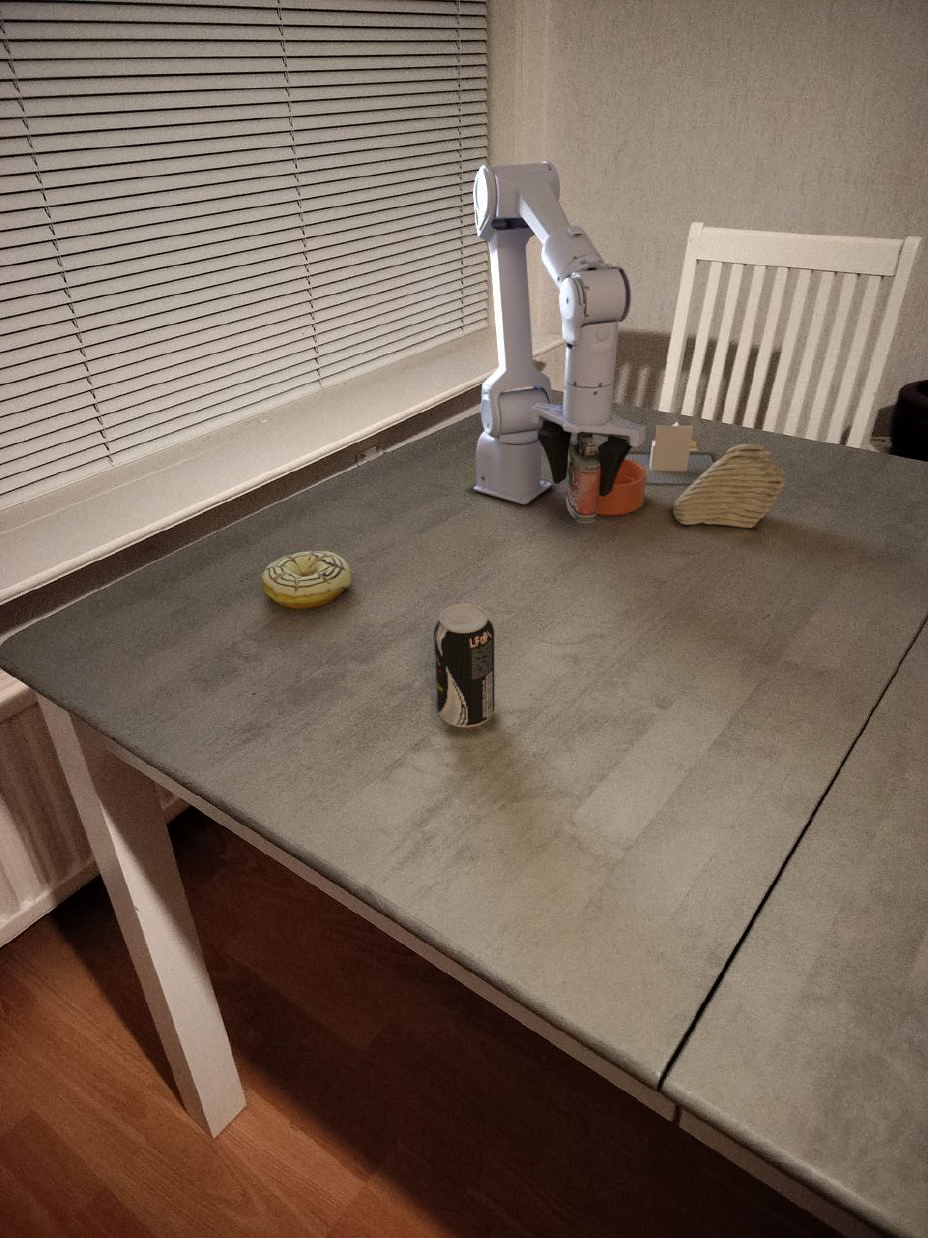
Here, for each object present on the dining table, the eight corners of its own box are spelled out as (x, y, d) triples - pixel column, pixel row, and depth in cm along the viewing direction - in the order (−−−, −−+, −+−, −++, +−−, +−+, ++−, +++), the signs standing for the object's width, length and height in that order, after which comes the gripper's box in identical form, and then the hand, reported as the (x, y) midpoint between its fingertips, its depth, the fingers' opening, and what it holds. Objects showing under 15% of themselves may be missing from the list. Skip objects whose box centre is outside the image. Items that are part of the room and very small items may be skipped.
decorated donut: (368, 591, 103) (365, 565, 101) (295, 625, 98) (290, 598, 95) (322, 561, 110) (318, 536, 108) (250, 590, 104) (245, 565, 102)
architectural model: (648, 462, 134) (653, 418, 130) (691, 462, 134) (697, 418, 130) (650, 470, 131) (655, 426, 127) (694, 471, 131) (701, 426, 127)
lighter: (562, 494, 108) (565, 421, 102) (587, 493, 108) (592, 420, 103) (573, 523, 102) (578, 446, 96) (600, 521, 102) (607, 445, 96)
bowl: (559, 506, 122) (561, 475, 119) (593, 481, 129) (595, 451, 126) (623, 524, 117) (626, 492, 114) (654, 497, 124) (658, 466, 121)
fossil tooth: (670, 516, 121) (776, 509, 119) (676, 535, 116) (787, 527, 114) (672, 441, 115) (783, 432, 113) (678, 457, 110) (795, 448, 108)
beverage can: (439, 695, 86) (434, 599, 79) (494, 695, 86) (494, 599, 79) (436, 732, 81) (431, 633, 75) (494, 733, 81) (494, 633, 74)
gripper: (517, 378, 97) (516, 484, 104) (630, 401, 89) (619, 513, 97) (549, 362, 101) (545, 465, 109) (658, 383, 94) (645, 491, 102)
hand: (582, 486), depth 103 cm, fingers closed on lighter, 6 cm apart
